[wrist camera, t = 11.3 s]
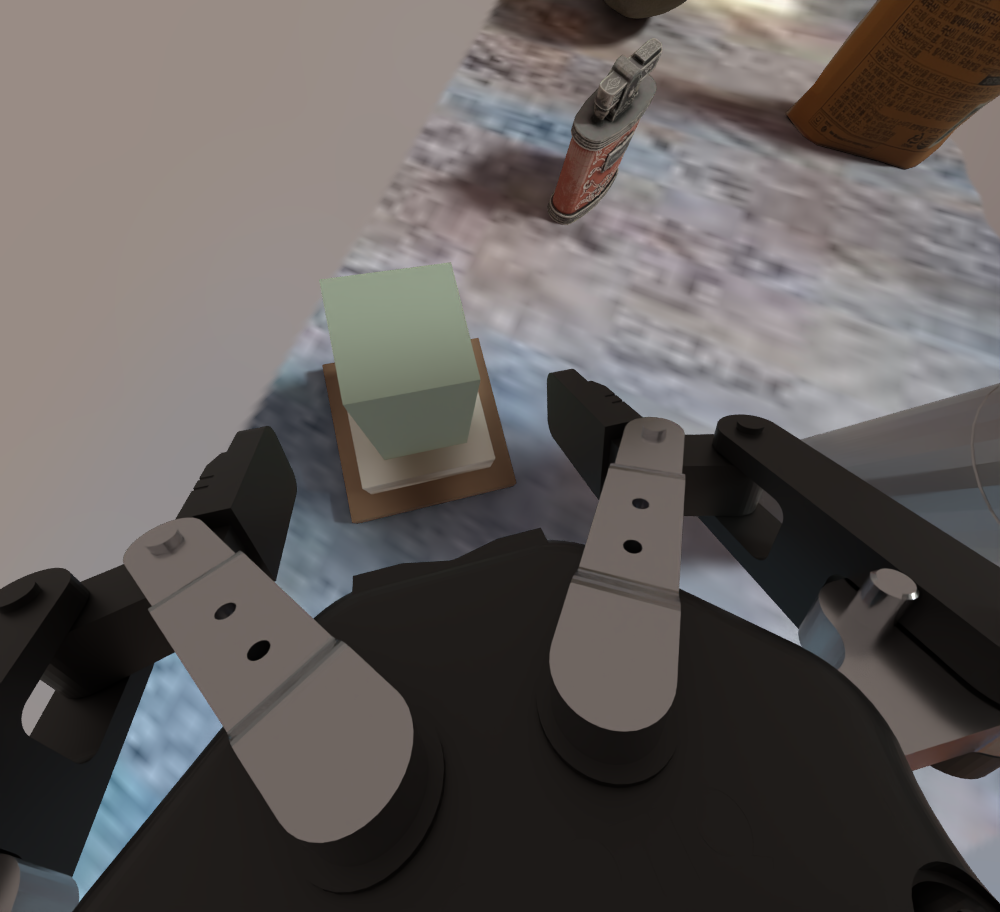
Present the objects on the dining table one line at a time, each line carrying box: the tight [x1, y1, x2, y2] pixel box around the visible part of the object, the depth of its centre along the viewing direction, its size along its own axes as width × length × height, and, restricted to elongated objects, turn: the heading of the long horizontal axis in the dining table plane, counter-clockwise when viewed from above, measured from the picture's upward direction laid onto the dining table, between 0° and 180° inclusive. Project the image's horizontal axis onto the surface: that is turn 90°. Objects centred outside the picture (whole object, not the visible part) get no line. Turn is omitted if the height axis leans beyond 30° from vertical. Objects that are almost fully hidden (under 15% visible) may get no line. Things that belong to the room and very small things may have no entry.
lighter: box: [547, 38, 663, 225], centre depth 31 cm, size 8×3×10 cm, turn 140°
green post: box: [319, 262, 481, 460], centre depth 20 cm, size 5×5×10 cm
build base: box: [323, 338, 516, 524], centre depth 27 cm, size 11×11×4 cm
